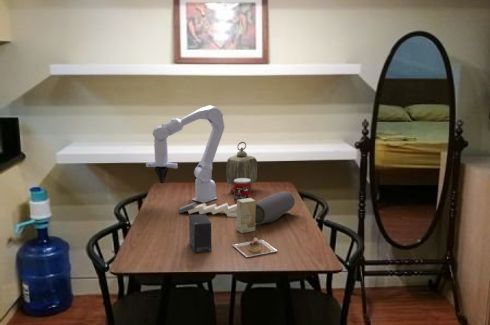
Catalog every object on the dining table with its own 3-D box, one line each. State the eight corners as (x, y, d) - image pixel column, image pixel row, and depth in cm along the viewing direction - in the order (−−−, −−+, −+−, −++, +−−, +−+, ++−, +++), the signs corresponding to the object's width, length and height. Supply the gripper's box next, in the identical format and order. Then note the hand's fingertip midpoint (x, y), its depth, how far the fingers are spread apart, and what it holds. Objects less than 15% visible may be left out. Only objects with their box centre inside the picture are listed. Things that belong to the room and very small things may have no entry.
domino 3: (198, 211, 204) (213, 206, 203) (201, 208, 208) (215, 203, 207) (199, 214, 204) (214, 210, 203) (202, 211, 209) (217, 206, 207)
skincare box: (241, 233, 182) (241, 202, 179) (236, 230, 185) (235, 199, 183) (256, 230, 184) (256, 200, 182) (250, 227, 188) (250, 197, 186)
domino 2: (187, 210, 205) (202, 205, 204) (190, 207, 210) (205, 202, 208) (189, 213, 206) (203, 209, 204) (192, 210, 210) (206, 206, 208)
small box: (213, 251, 165) (212, 222, 162) (194, 254, 163) (193, 224, 161) (206, 240, 175) (205, 213, 172) (188, 242, 173) (187, 215, 171)
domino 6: (226, 213, 202) (243, 214, 200) (229, 210, 206) (245, 211, 205) (227, 217, 202) (243, 218, 201) (229, 214, 206) (245, 215, 205)
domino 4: (211, 211, 203) (226, 205, 202) (212, 208, 208) (227, 202, 207) (212, 214, 204) (227, 208, 203) (214, 211, 208) (229, 206, 207)
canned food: (231, 204, 218) (231, 181, 216) (238, 200, 225) (237, 177, 223) (247, 206, 215) (246, 182, 213) (253, 201, 222) (253, 178, 220)
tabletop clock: (243, 186, 249) (243, 139, 244) (258, 189, 244) (258, 140, 238) (226, 193, 237) (225, 143, 232) (241, 196, 232) (241, 144, 227)
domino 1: (178, 209, 206) (192, 204, 204) (181, 206, 210) (195, 201, 209) (179, 213, 206) (194, 208, 205) (182, 210, 211) (197, 205, 209)
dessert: (246, 260, 159) (246, 246, 158) (231, 247, 170) (231, 234, 169) (278, 253, 164) (278, 240, 163) (262, 242, 174) (262, 229, 173)
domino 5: (223, 210, 203) (239, 205, 203) (224, 208, 207) (239, 202, 207) (225, 213, 203) (240, 208, 203) (225, 211, 207) (240, 206, 207)
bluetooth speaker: (277, 210, 210) (277, 188, 207) (295, 214, 204) (296, 191, 202) (247, 224, 191) (246, 200, 189) (266, 229, 186) (266, 204, 184)
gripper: (142, 154, 213) (143, 184, 216) (172, 155, 210) (174, 185, 212) (149, 151, 220) (150, 180, 223) (178, 152, 216) (179, 182, 219)
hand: (162, 182), depth 218 cm, fingers closed
